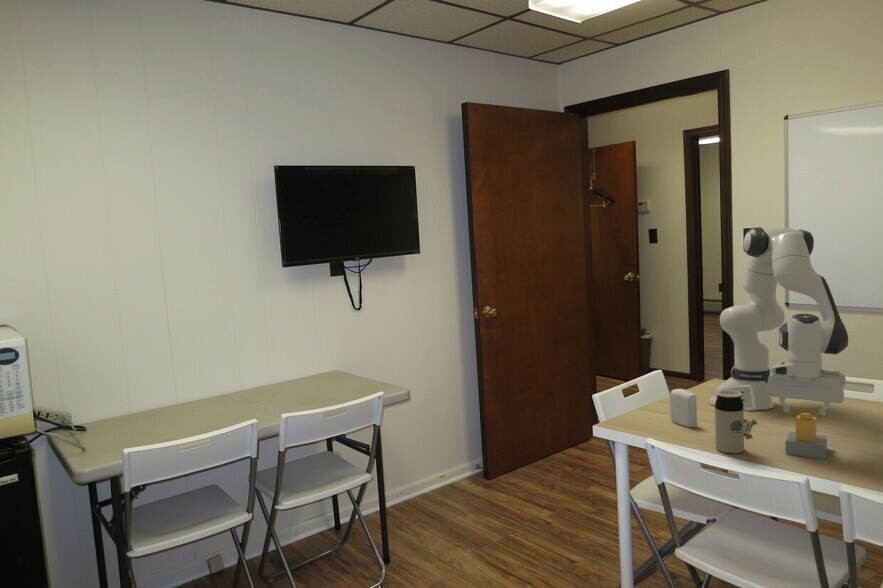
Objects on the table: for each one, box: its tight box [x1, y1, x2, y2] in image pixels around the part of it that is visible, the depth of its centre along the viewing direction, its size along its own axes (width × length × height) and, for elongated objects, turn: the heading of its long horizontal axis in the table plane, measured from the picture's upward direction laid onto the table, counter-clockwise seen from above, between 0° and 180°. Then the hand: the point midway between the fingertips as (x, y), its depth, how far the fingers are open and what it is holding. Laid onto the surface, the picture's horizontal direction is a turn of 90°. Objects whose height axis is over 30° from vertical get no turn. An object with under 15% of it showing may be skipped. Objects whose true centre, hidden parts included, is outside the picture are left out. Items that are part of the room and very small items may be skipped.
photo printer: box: [669, 388, 698, 428], centre depth 225 cm, size 10×4×12 cm, turn 20°
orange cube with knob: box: [795, 412, 817, 442], centre depth 192 cm, size 5×5×7 cm
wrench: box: [744, 418, 758, 440], centre depth 216 cm, size 5×2×20 cm
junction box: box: [785, 431, 828, 460], centre depth 193 cm, size 10×10×8 cm
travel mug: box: [714, 390, 745, 454], centre depth 197 cm, size 8×8×18 cm
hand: (804, 413), depth 192 cm, fingers open, 8 cm apart
